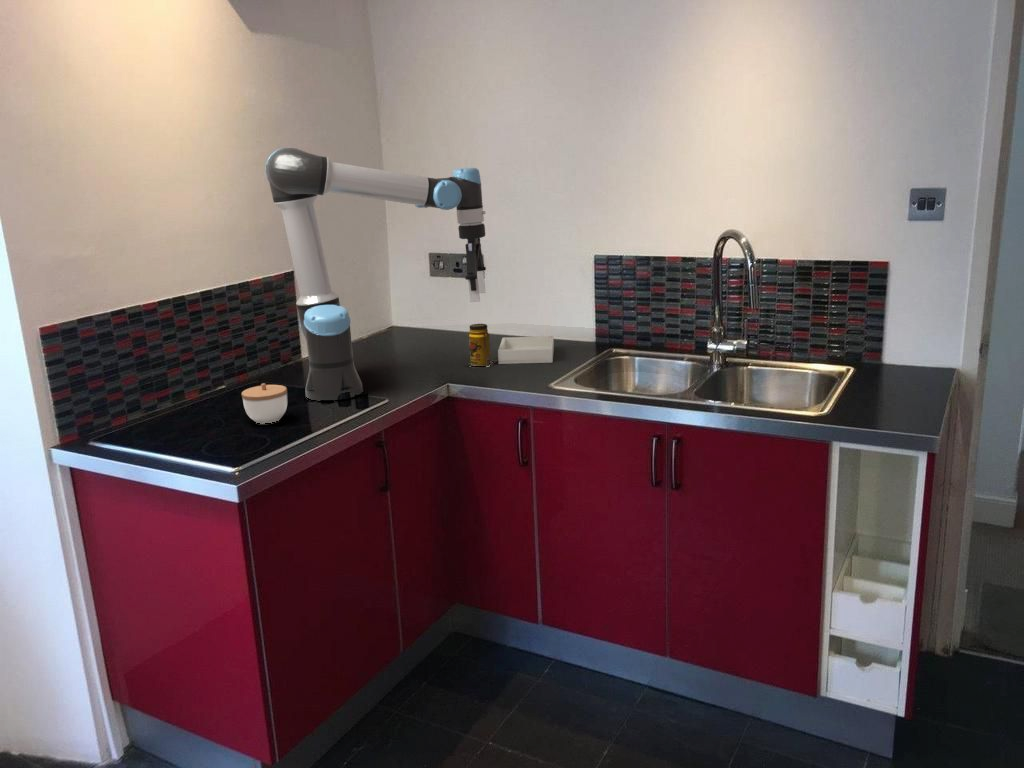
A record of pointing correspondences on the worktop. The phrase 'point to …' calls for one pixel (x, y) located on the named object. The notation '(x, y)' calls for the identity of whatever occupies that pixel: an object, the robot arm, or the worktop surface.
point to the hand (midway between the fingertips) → (478, 297)
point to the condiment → (479, 345)
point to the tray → (526, 350)
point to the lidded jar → (265, 402)
